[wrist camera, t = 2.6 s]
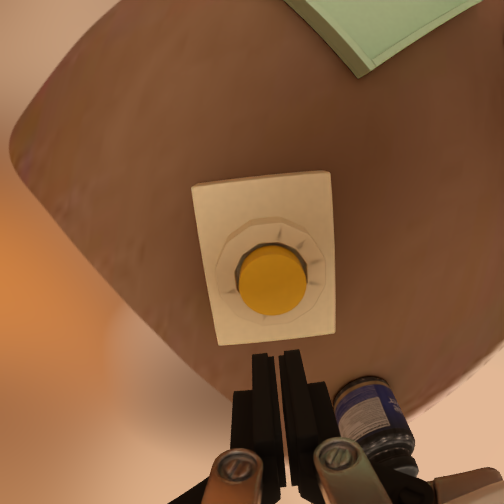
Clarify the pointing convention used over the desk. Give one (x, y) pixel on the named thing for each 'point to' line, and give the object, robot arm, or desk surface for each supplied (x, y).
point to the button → (272, 280)
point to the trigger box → (265, 234)
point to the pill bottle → (376, 423)
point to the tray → (375, 25)
